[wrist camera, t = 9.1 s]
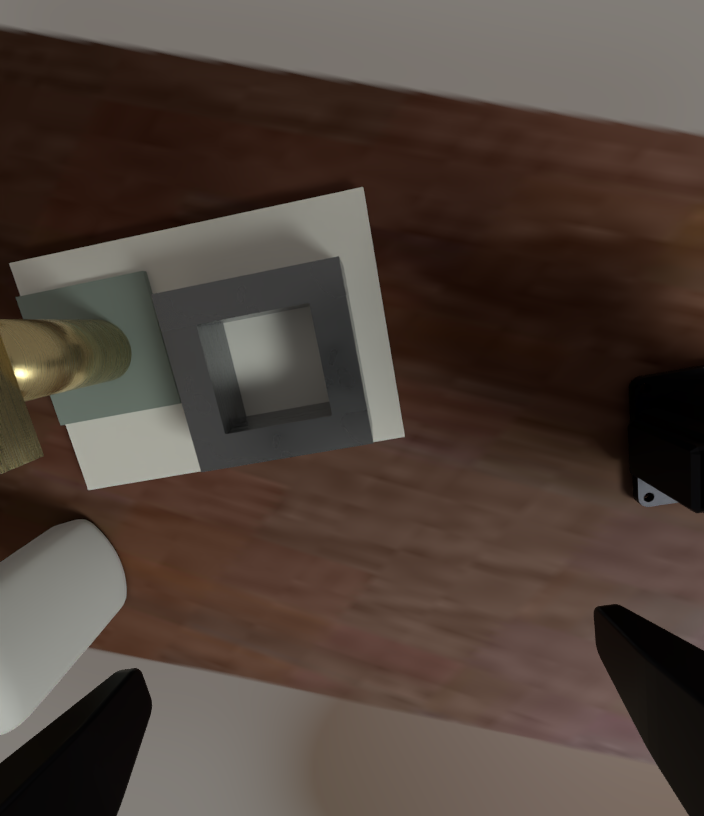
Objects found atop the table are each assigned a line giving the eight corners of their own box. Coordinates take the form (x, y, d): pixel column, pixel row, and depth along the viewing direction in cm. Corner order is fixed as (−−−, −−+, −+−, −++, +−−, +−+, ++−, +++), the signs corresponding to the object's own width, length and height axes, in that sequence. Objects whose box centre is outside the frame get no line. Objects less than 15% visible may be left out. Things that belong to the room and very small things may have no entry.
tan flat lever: (150, 413, 19) (7, 474, 12) (94, 423, 19) (-82, 490, 12) (108, 272, 18) (-82, 237, 10) (49, 285, 18) (-181, 259, 11)
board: (363, 193, 18) (363, 186, 17) (402, 430, 20) (404, 436, 19) (26, 265, 19) (8, 263, 18) (100, 482, 22) (88, 490, 21)
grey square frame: (343, 265, 18) (339, 256, 15) (372, 423, 19) (373, 443, 16) (185, 297, 18) (150, 294, 15) (225, 448, 20) (201, 472, 17)
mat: (146, 271, 18) (142, 270, 18) (183, 402, 19) (180, 403, 19) (21, 297, 19) (15, 297, 18) (65, 423, 20) (60, 425, 20)
